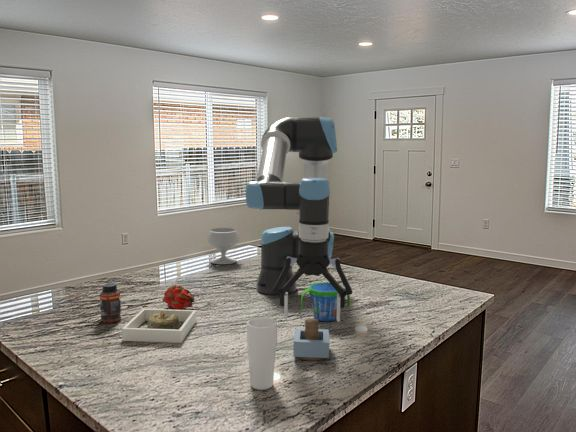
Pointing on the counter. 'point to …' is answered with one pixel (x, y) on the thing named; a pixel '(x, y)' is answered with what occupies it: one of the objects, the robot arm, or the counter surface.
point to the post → (311, 335)
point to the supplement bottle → (110, 303)
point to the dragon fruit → (178, 298)
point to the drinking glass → (261, 351)
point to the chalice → (223, 243)
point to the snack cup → (323, 301)
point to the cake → (163, 321)
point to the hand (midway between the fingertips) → (311, 318)
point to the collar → (311, 344)
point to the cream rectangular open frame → (159, 335)
